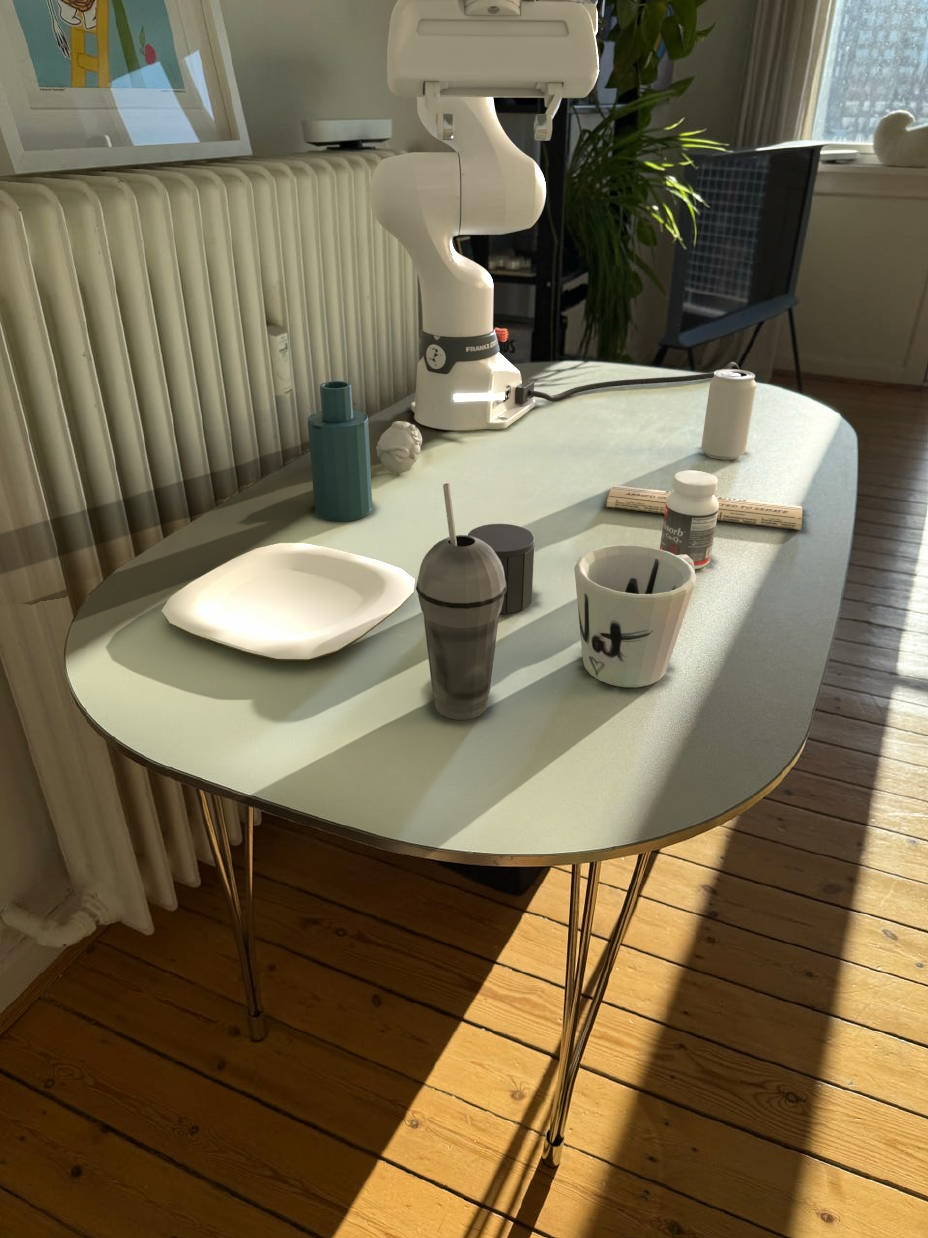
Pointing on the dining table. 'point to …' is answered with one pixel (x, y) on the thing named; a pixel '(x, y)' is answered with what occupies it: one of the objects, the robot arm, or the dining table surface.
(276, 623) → the plate
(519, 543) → the flask lid
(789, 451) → the dining table surface
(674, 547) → the pill bottle
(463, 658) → the beverage cup
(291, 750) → the dining table surface
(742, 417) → the beverage can
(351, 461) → the flask
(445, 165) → the robot arm
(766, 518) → the newspaper
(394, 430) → the cream lumpy ball
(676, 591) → the mug
